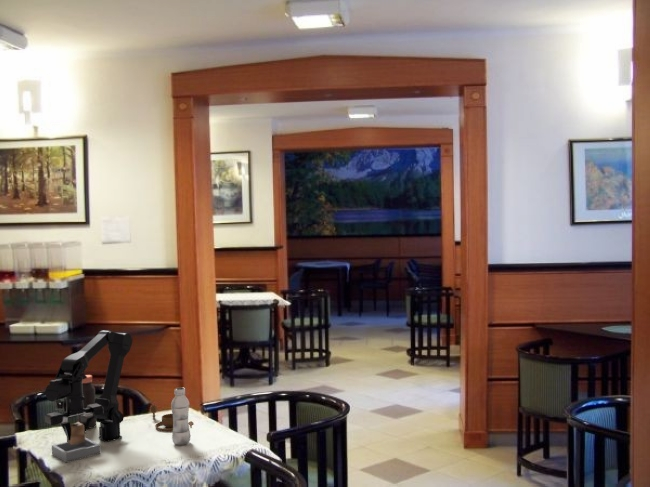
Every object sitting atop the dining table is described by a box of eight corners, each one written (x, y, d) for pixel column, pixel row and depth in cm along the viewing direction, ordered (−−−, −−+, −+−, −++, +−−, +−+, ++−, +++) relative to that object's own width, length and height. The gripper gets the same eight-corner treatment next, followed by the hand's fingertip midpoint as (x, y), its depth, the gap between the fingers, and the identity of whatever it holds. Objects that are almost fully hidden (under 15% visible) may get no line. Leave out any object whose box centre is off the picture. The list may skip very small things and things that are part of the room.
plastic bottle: (194, 442, 248) (192, 387, 247) (183, 448, 242) (181, 392, 241) (179, 440, 251) (178, 385, 250) (168, 445, 245) (166, 390, 244)
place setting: (146, 435, 259) (145, 419, 259) (149, 419, 279) (148, 405, 278) (193, 431, 263) (193, 416, 262) (193, 416, 282) (192, 402, 282)
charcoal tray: (85, 445, 247) (85, 437, 247) (100, 453, 238) (100, 445, 238) (52, 453, 239) (51, 445, 239) (66, 462, 230) (65, 453, 230)
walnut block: (79, 438, 242) (78, 421, 241) (84, 441, 238) (84, 424, 238) (66, 441, 239) (66, 424, 238) (72, 444, 235) (71, 427, 235)
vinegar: (89, 423, 274) (87, 373, 273) (100, 425, 270) (98, 375, 269) (74, 427, 268) (72, 377, 267) (85, 430, 264) (83, 379, 264)
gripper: (90, 384, 250) (91, 427, 251) (38, 395, 237) (39, 439, 238) (103, 390, 242) (105, 434, 242) (50, 401, 229) (52, 447, 230)
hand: (75, 438), depth 238 cm, fingers closed on walnut block, 4 cm apart
